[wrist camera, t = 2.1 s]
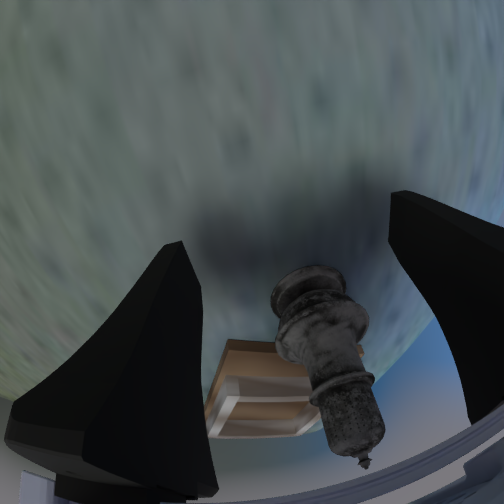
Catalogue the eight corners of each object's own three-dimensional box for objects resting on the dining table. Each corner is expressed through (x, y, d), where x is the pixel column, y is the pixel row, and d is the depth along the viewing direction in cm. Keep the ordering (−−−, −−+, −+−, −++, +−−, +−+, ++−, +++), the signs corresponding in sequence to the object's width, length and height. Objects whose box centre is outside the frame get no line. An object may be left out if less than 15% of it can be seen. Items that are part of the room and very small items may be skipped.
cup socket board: (289, 424, 33) (293, 444, 31) (197, 424, 31) (198, 445, 28) (360, 345, 24) (372, 371, 21) (227, 339, 21) (230, 373, 19)
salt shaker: (251, 285, 18) (287, 484, 8) (339, 247, 17) (433, 431, 8) (283, 335, 21) (320, 488, 12) (356, 304, 21) (420, 451, 11)
